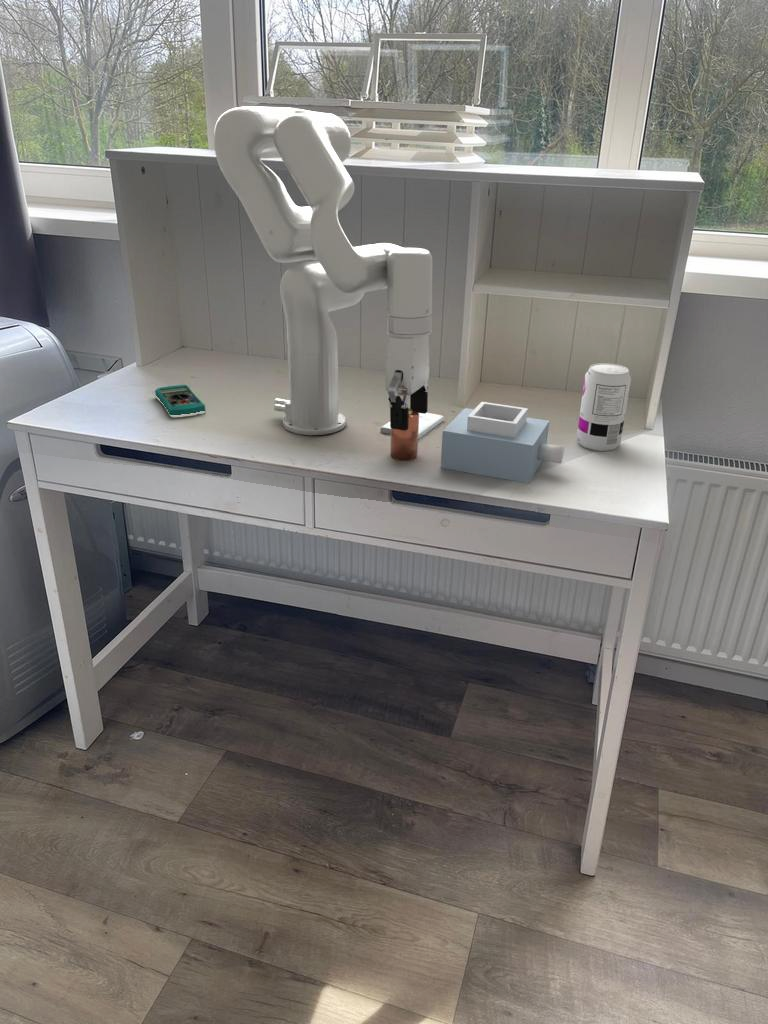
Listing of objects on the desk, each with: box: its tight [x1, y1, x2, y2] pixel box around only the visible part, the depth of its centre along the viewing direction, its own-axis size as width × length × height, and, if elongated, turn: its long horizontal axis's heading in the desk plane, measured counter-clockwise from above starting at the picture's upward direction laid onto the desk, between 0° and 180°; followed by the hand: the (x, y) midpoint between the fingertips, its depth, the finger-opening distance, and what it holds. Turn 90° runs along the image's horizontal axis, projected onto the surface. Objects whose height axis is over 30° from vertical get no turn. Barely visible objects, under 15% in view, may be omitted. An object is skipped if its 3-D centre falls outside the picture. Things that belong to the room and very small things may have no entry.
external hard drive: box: [379, 412, 445, 440], centre depth 158 cm, size 2×8×12 cm
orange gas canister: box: [389, 403, 419, 462], centre depth 142 cm, size 5×5×10 cm
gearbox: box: [440, 401, 565, 484], centre depth 139 cm, size 20×13×10 cm, turn 67°
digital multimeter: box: [154, 384, 206, 415], centre depth 166 cm, size 7×15×3 cm, turn 27°
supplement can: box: [576, 362, 632, 452], centre depth 147 cm, size 8×8×15 cm
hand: (409, 420), depth 140 cm, fingers open, 9 cm apart
